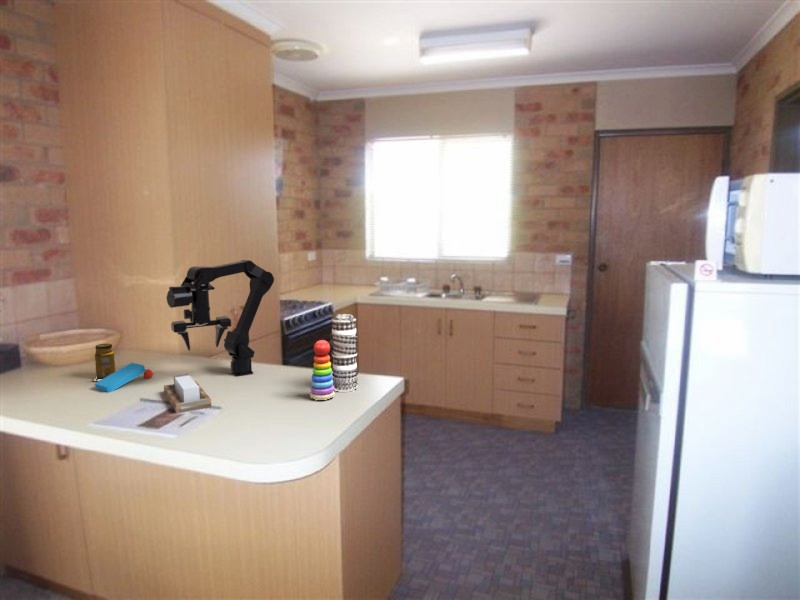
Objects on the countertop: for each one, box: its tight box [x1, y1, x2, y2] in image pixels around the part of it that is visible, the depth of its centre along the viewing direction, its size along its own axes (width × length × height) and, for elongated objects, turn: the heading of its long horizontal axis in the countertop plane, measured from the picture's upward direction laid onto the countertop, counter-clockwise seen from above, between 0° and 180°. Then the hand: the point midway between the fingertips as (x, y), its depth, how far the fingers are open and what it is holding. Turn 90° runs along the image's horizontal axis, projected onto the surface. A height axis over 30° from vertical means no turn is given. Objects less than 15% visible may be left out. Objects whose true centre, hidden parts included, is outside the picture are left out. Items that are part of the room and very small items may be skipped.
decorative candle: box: [329, 313, 359, 390], centre depth 181 cm, size 9×9×25 cm
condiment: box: [90, 343, 116, 383], centre depth 194 cm, size 7×8×12 cm
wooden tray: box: [163, 380, 212, 414], centre depth 172 cm, size 21×10×2 cm, turn 32°
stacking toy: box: [309, 339, 336, 401], centre depth 173 cm, size 8×8×19 cm
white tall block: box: [173, 373, 200, 402], centre depth 172 cm, size 16×4×5 cm, turn 32°
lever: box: [94, 362, 154, 393], centre depth 189 cm, size 7×7×18 cm
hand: (203, 348), depth 188 cm, fingers open, 9 cm apart
